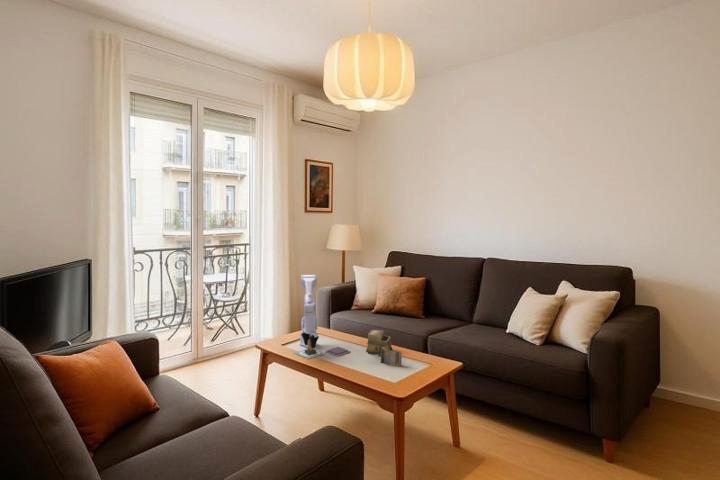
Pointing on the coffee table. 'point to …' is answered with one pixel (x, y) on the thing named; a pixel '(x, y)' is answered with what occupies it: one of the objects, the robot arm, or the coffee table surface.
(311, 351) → the wooden stamp
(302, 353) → the marked board
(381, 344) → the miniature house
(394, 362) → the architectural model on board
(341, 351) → the ink pad
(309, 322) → the robot arm
